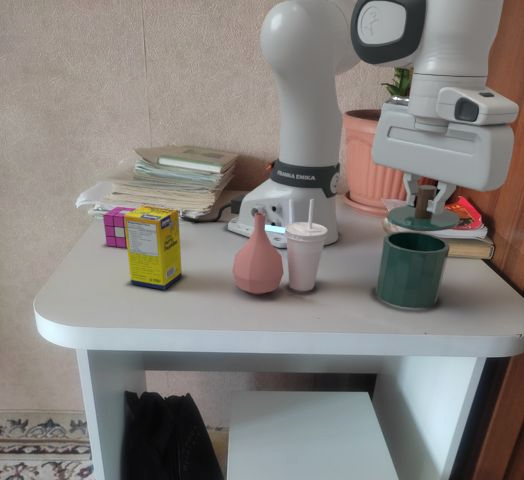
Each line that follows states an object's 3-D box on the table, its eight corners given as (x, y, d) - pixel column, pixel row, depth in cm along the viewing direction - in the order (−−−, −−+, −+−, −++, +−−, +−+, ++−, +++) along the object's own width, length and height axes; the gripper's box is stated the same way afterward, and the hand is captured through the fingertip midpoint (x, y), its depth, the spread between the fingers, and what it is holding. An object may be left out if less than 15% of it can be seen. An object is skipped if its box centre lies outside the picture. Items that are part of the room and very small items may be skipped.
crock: (366, 300, 78) (375, 243, 73) (387, 280, 85) (396, 227, 80) (425, 317, 74) (439, 257, 69) (443, 295, 81) (456, 239, 76)
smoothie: (310, 301, 77) (318, 207, 70) (273, 290, 80) (278, 199, 73) (328, 287, 82) (338, 198, 75) (293, 277, 85) (299, 190, 77)
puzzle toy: (120, 236, 98) (116, 206, 96) (148, 239, 98) (145, 209, 95) (106, 245, 94) (102, 214, 91) (136, 249, 93) (133, 217, 90)
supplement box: (182, 276, 83) (179, 209, 77) (164, 291, 78) (160, 220, 72) (149, 270, 85) (144, 204, 79) (130, 284, 80) (123, 214, 74)
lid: (376, 227, 72) (380, 191, 69) (400, 208, 79) (404, 174, 76) (447, 240, 68) (454, 201, 65) (465, 218, 75) (473, 183, 72)
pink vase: (285, 284, 82) (290, 209, 76) (278, 304, 76) (283, 224, 69) (237, 279, 83) (238, 204, 77) (227, 299, 77) (227, 219, 70)
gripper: (368, 93, 71) (356, 195, 78) (499, 110, 57) (470, 233, 64) (400, 93, 74) (385, 190, 81) (532, 108, 60) (500, 225, 67)
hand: (423, 209), depth 72 cm, fingers closed on lid, 2 cm apart
